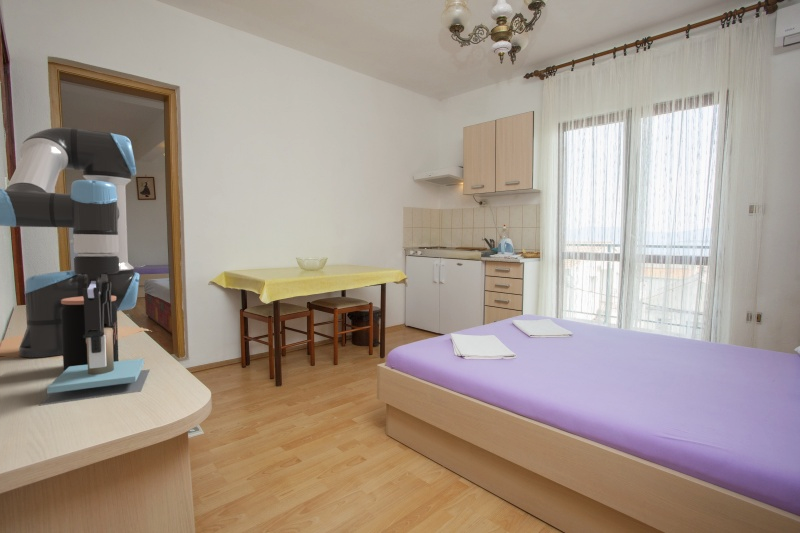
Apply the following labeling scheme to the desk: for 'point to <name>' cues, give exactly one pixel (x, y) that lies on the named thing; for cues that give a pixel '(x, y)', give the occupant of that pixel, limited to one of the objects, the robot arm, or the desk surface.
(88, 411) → the desk surface
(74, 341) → the coffee jar
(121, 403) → the desk surface
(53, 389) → the lid
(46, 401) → the mat
